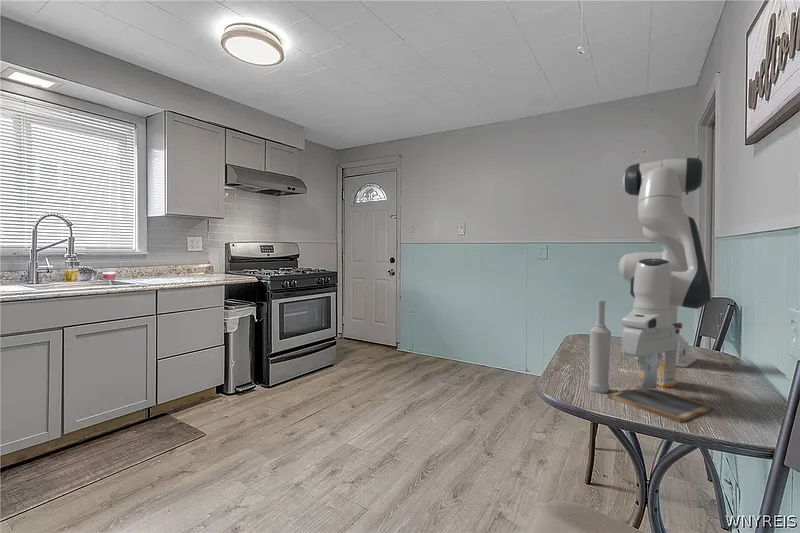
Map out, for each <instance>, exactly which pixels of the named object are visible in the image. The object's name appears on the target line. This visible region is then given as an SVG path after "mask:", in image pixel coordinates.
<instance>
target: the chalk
mask: <svg viewBox="0 0 800 533" xmlns="http://www.w3.org/2000/svg"><path fill="white" fill-rule="evenodd" d="M647 361H648V364H650V370H649V371H642V379H641V385H642V386H643V387H646V388H652V389H657V388H658V385H657V364H658V353H656V354H651V355H648V359H647Z"/></svg>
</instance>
